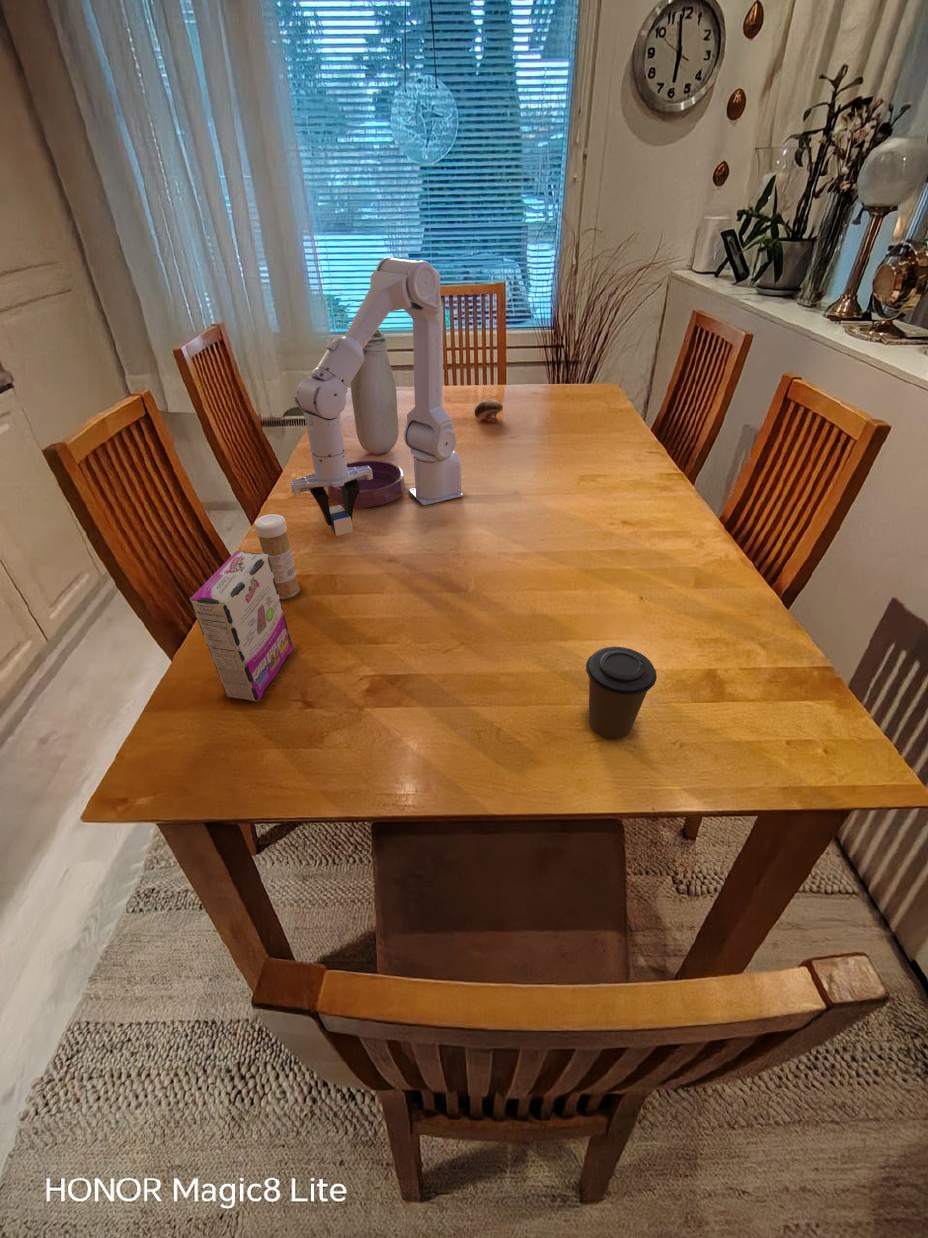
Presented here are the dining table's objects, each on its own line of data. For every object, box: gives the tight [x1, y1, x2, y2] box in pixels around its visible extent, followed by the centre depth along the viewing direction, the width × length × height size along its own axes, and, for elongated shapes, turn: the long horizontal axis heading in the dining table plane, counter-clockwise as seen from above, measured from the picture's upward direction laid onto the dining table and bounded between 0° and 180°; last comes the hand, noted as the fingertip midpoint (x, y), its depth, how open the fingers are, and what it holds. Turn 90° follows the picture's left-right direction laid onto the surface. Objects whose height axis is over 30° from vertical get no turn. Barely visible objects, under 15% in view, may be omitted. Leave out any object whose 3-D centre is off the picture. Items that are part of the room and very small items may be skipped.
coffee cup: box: [585, 646, 658, 740], centre depth 71 cm, size 8×8×10 cm
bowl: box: [326, 460, 405, 508], centre depth 127 cm, size 16×16×4 cm
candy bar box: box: [189, 550, 294, 703], centre depth 77 cm, size 11×5×16 cm, turn 168°
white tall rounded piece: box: [350, 328, 400, 455], centre depth 138 cm, size 10×10×28 cm
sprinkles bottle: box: [254, 513, 300, 600], centre depth 93 cm, size 5×5×14 cm
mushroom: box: [474, 398, 504, 423], centre depth 163 cm, size 8×8×6 cm
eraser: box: [329, 504, 354, 537], centre depth 110 cm, size 6×3×3 cm, turn 28°
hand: (338, 521), depth 110 cm, fingers closed on eraser, 3 cm apart
